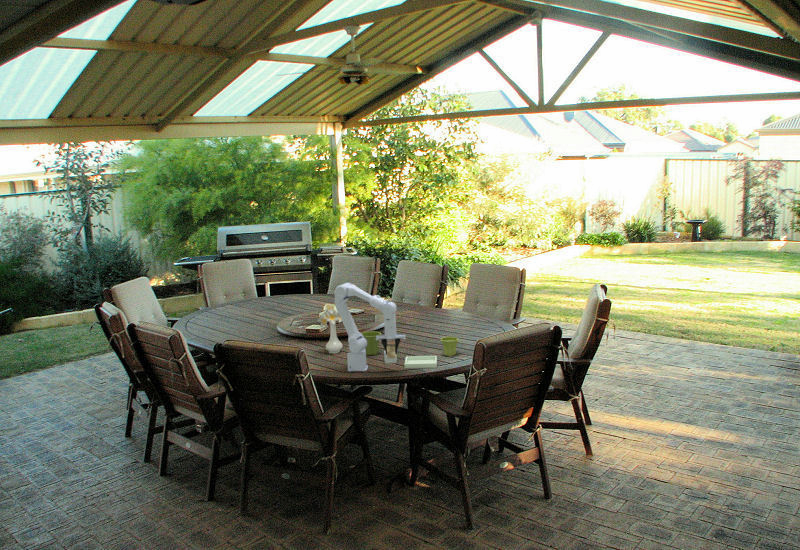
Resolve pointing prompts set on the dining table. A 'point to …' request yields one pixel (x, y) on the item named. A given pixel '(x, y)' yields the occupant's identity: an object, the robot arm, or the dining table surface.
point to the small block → (391, 351)
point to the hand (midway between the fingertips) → (391, 353)
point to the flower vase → (334, 343)
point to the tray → (420, 362)
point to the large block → (389, 359)
